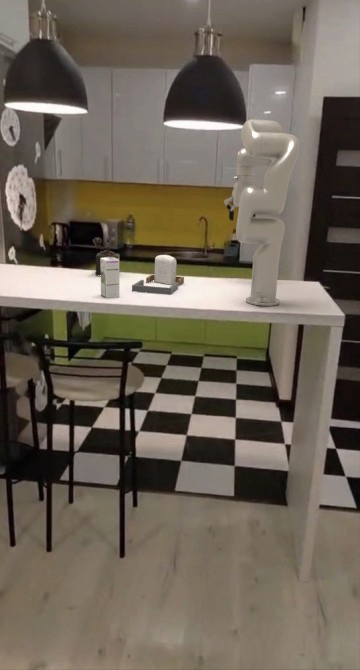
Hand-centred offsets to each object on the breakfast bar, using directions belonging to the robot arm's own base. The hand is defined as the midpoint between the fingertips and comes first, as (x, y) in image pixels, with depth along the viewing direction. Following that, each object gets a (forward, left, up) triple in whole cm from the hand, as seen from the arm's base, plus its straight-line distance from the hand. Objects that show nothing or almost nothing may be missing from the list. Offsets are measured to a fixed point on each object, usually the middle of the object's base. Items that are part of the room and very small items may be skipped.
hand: (241, 220), depth 224 cm
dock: (-15, +30, -28) cm, 44 cm away
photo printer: (-15, +30, -28) cm, 44 cm away
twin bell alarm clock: (-7, +60, -28) cm, 67 cm away
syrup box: (-50, +43, -28) cm, 72 cm away
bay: (-31, +30, -28) cm, 51 cm away
